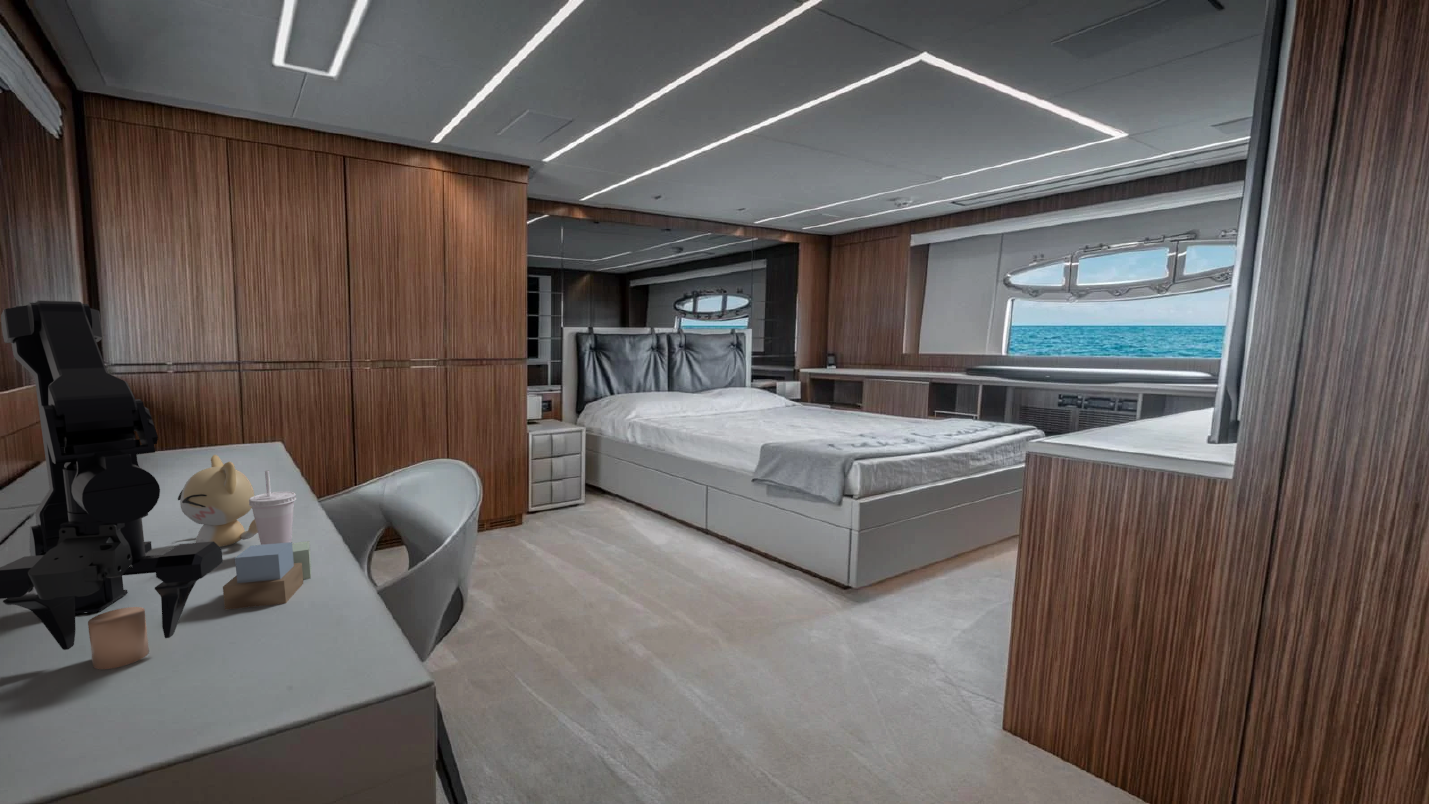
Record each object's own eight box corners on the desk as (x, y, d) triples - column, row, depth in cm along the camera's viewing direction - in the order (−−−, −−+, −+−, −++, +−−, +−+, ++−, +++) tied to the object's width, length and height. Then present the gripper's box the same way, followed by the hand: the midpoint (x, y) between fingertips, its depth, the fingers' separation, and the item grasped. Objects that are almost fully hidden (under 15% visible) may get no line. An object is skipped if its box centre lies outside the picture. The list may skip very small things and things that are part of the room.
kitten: (174, 542, 110) (165, 457, 108) (243, 528, 118) (237, 449, 116) (194, 562, 100) (185, 469, 99) (269, 546, 108) (262, 459, 106)
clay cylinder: (82, 672, 68) (77, 627, 68) (109, 651, 72) (104, 609, 72) (134, 665, 69) (129, 622, 69) (157, 646, 74) (153, 604, 73)
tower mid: (237, 583, 84) (234, 557, 84) (253, 569, 89) (251, 545, 88) (280, 579, 85) (278, 554, 85) (293, 566, 90) (291, 542, 90)
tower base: (225, 612, 83) (222, 586, 83) (247, 591, 90) (245, 567, 90) (286, 605, 85) (284, 580, 85) (303, 585, 92) (301, 562, 92)
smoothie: (244, 557, 103) (236, 472, 101) (283, 544, 109) (277, 464, 107) (270, 562, 100) (263, 475, 99) (309, 549, 106) (303, 467, 105)
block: (273, 585, 92) (271, 555, 91) (276, 575, 95) (273, 546, 95) (310, 578, 94) (308, 549, 93) (311, 569, 98) (309, 541, 97)
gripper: (-75, 537, 59) (-52, 695, 60) (167, 519, 64) (182, 666, 66) (18, 505, 69) (35, 641, 71) (218, 493, 75) (230, 619, 76)
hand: (119, 642), depth 71 cm, fingers open, 9 cm apart
